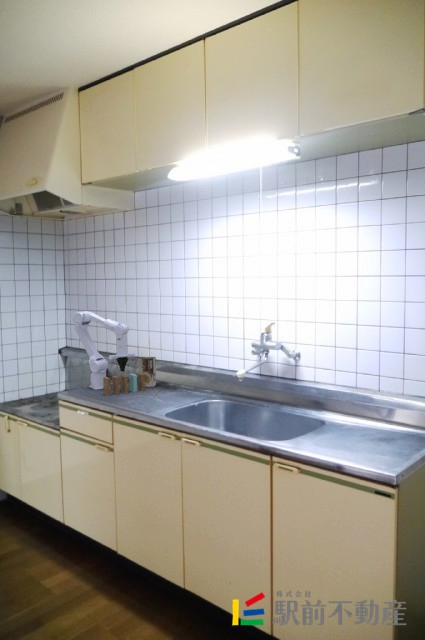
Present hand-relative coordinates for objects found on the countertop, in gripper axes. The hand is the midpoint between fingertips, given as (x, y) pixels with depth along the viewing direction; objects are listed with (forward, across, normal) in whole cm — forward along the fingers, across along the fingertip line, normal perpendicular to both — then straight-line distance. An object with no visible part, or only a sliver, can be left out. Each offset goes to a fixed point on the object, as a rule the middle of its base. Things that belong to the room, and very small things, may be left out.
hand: (122, 371), depth 277 cm
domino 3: (+10, -2, -6) cm, 12 cm away
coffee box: (+11, +17, +3) cm, 20 cm away
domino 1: (+10, -12, -6) cm, 16 cm away
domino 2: (+10, -6, -6) cm, 13 cm away
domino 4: (+10, +4, -6) cm, 12 cm away
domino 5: (+10, +8, -6) cm, 15 cm away
